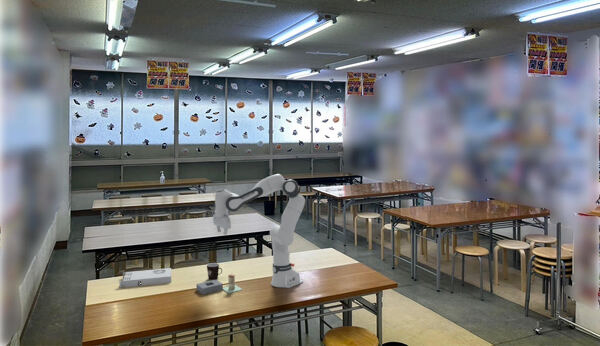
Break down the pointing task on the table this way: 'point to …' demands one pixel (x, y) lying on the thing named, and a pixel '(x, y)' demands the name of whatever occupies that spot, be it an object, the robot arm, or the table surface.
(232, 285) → the plug
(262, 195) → the robot arm
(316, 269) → the table surface
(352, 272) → the table surface
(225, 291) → the mat
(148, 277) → the power supply unit
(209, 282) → the gray rectangular block
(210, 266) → the coffee mug
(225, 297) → the table surface
